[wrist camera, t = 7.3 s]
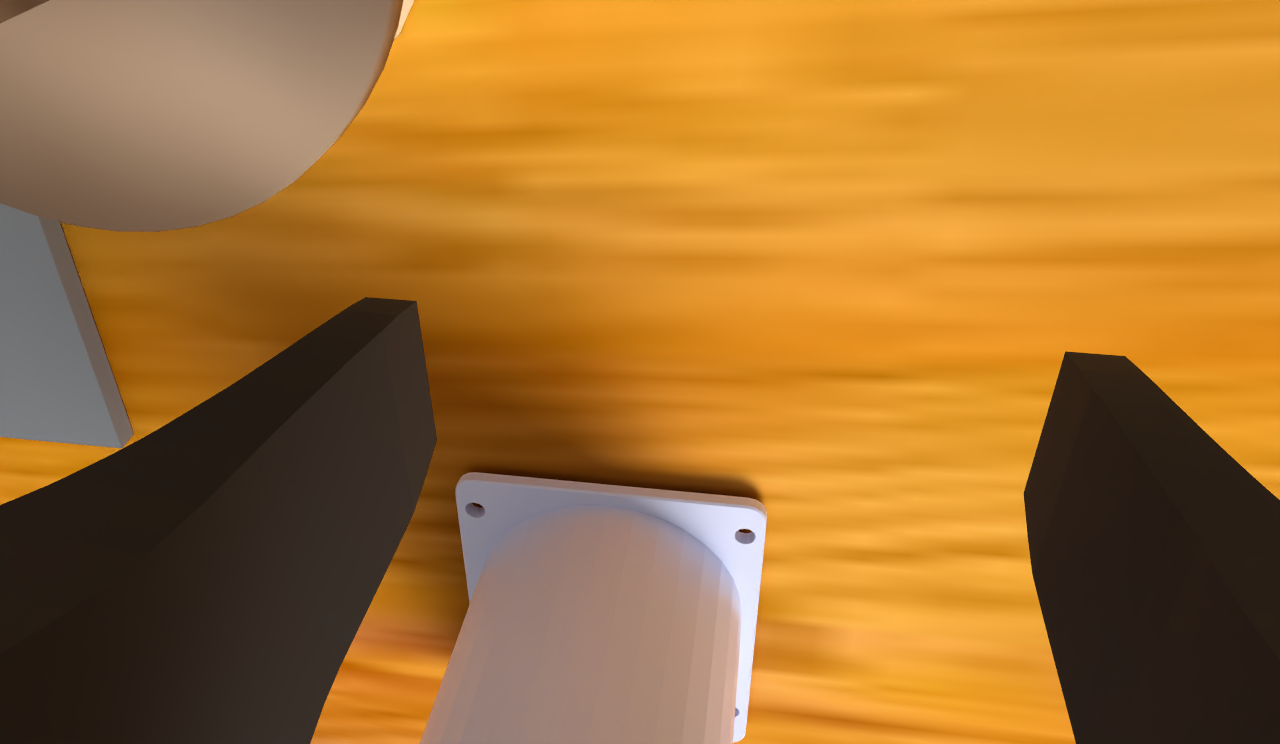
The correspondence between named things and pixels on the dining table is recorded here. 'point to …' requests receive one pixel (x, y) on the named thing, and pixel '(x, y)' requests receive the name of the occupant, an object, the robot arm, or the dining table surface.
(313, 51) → the lid
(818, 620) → the dining table surface
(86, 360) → the coaster
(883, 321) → the dining table surface
